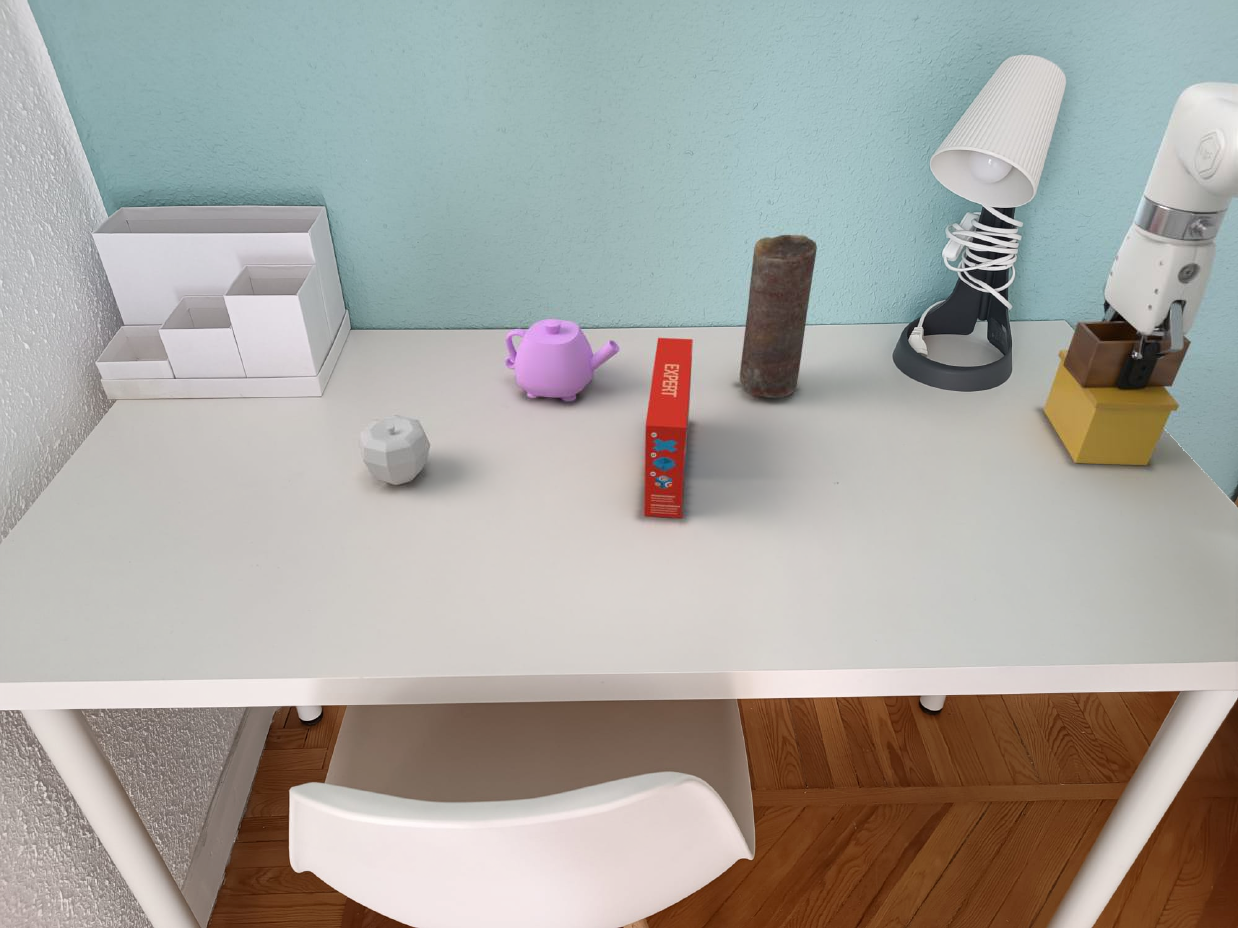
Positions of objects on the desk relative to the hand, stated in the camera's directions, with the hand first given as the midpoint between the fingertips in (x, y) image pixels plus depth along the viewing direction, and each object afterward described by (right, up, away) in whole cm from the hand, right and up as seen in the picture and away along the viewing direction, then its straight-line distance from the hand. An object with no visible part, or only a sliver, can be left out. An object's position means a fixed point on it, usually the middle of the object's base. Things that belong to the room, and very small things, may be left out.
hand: (1117, 372), depth 98 cm
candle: (-37, -1, +14) cm, 40 cm away
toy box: (-51, -11, +1) cm, 52 cm away
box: (0, -7, +5) cm, 9 cm away
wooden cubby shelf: (0, 0, 0) cm, 0 cm away
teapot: (-64, -1, +15) cm, 65 cm away
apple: (-81, -12, 0) cm, 82 cm away
